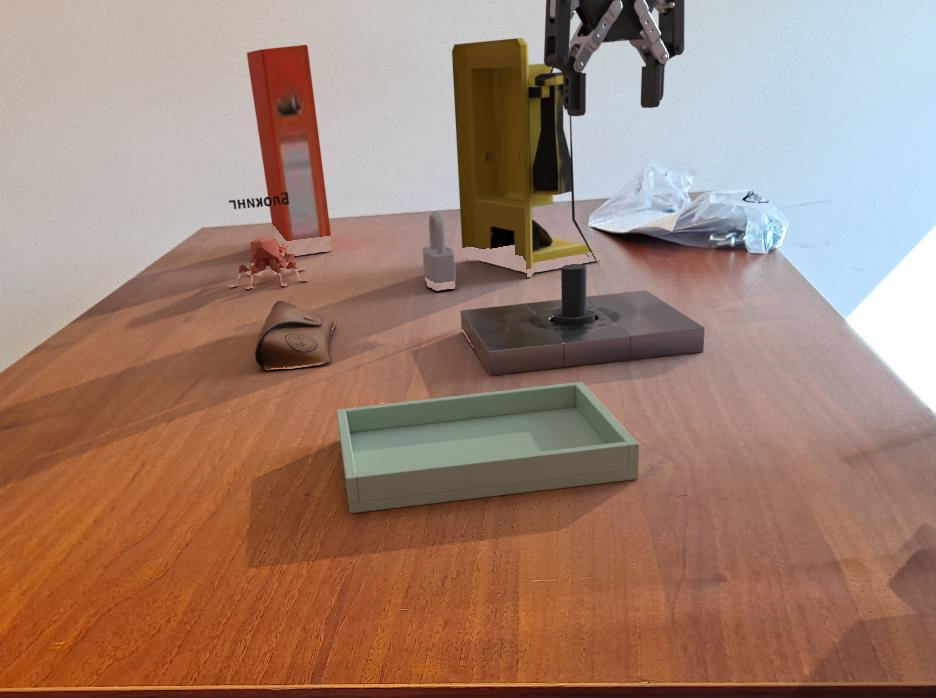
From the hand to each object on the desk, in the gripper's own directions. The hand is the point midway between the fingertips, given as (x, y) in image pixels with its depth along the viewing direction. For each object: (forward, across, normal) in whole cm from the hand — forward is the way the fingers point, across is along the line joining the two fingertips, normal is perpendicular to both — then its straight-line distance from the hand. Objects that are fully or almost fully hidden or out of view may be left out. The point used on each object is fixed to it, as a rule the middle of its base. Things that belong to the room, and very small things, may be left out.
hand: (613, 111), depth 95 cm
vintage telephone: (+23, +16, +41) cm, 50 cm away
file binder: (+23, -7, +86) cm, 89 cm away
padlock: (+23, -2, +38) cm, 44 cm away
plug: (+23, -3, +2) cm, 23 cm away
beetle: (+23, -19, +62) cm, 69 cm away
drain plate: (+23, -3, +2) cm, 23 cm away
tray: (+23, -27, -21) cm, 41 cm away
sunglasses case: (+23, -28, +21) cm, 42 cm away
